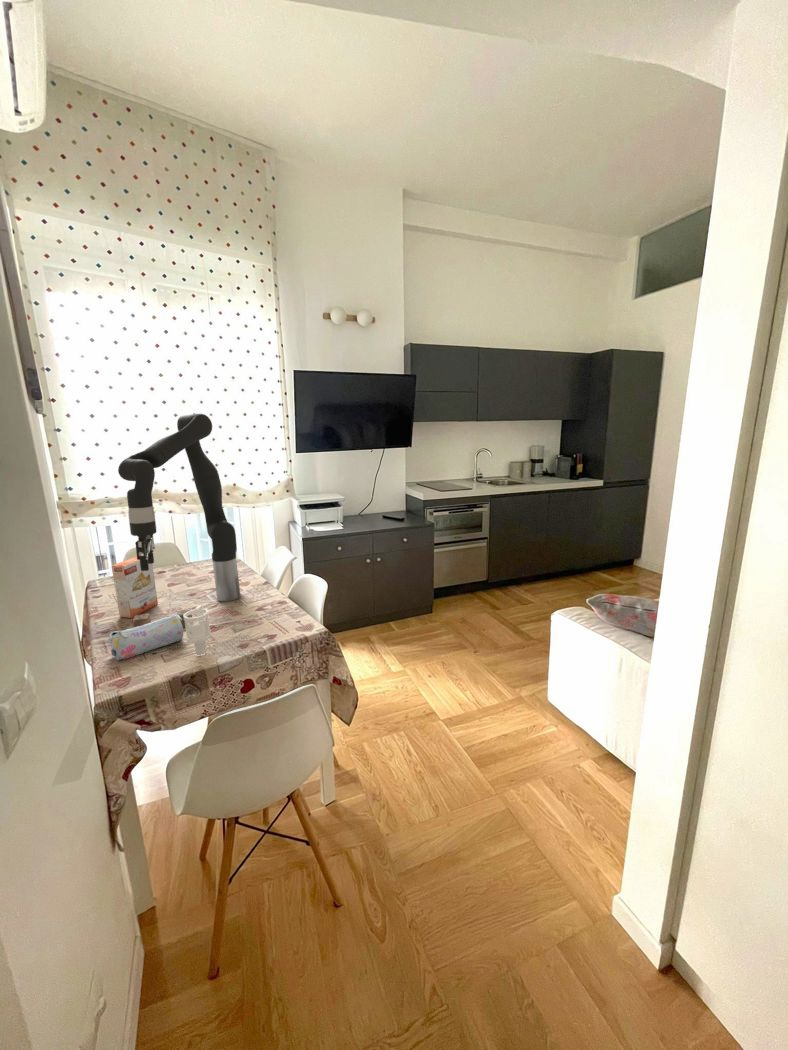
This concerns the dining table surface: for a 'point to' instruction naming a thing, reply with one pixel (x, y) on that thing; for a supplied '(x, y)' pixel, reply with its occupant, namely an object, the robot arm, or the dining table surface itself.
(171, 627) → the pencil case
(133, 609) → the cracker box
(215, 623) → the dining table surface
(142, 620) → the three-dot block
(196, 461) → the robot arm
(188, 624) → the strainer
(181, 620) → the two-dot block
